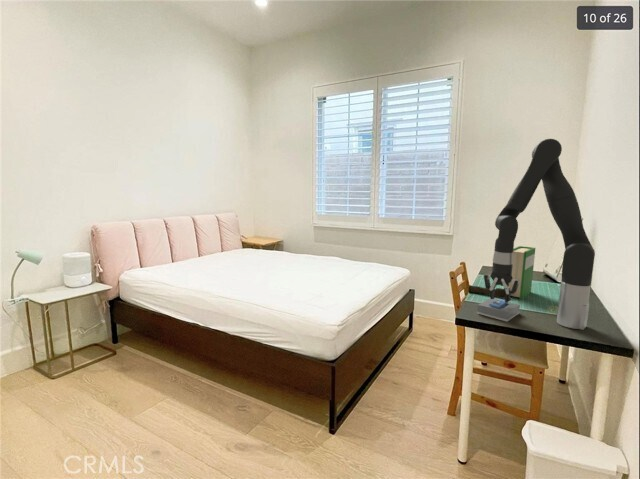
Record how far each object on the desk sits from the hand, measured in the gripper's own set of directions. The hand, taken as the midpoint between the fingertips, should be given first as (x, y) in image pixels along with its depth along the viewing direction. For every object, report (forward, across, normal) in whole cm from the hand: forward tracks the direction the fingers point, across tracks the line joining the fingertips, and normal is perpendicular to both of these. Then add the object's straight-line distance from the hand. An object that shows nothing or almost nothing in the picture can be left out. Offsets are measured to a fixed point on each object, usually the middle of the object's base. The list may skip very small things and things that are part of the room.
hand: (499, 300), depth 143 cm
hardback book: (+6, +4, -38) cm, 39 cm away
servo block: (+5, 0, 0) cm, 5 cm away
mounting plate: (+6, 0, 0) cm, 6 cm away
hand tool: (+6, +14, -25) cm, 29 cm away
